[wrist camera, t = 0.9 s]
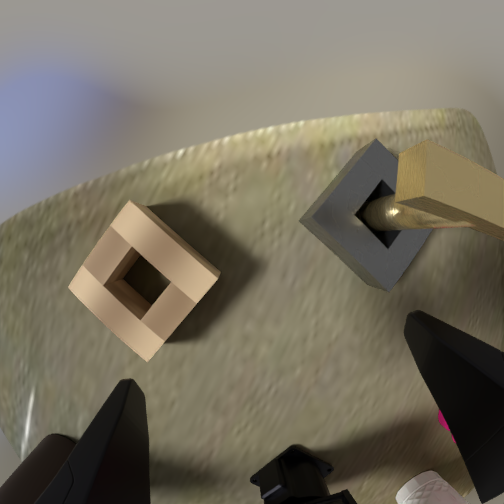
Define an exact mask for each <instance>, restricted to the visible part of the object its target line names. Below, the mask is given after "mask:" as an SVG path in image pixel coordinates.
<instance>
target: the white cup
mask: <svg viewBox="0 0 504 504" xmlns="http://www.w3.org/2000/svg"><path fill="white" fill-rule="evenodd" d="M395 499H396V501H397V503H398V504H469V503H468V502H467V501H466V500H465V499H464V498H463V497H462V496H461V495H460V494H459V493H458V492H457V491H456V490H455V489H454V488H453V487H451V486H450V485H449V483H447V482H446V481H445V480H443V479H442V478H441V477H440V476H439V474H438V473H437V472H435V471H431V470H430V471H426V472H422V473H421V474H419V475H417V476H415V477H413V478H412V479H411V480H409V481H408V482H407V483H406V484H404V485H403V487H402V488H401V489H400V490H399V491H398V493H397V495H396V498H395Z"/></svg>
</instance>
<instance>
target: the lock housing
mask: <svg viewBox="0 0 504 504" xmlns="http://www.w3.org/2000/svg"><path fill="white" fill-rule="evenodd" d="M397 174H398V160H397V159H396V158H395V157H394V156H393V155H392V154H391V153H390V152H389V151H388V150H387V149H386V148H385V147H384V146H383V145H382V144H381V143H380V142H379V141H378V140H377V139H374V140H373V141H371V142H370V143H369V144H367V145H366V146H364V147H363V148H362V149H360V150H359V151H357V152H356V153H355V154H354V156H353V157H352V158H351V159H350V160H349V162H348V163H347V164H346V165H345V166H344V168H343V169H342V170H341V171H340V172H339V174H338V175H337V176H336V177H335V178H334V180H333V181H332V182H331V183H330V184H329V186H328V187H327V188H326V189H325V190H324V192H323V193H322V194H321V195H320V196H319V197H318V199H317V200H316V201H315V202H314V203H313V205H312V206H311V207H310V208H309V209H308V211H307V212H306V213H305V214H304V215H303V216H302V218H301V219H300V220H299V222H300V223H302V224H303V225H304V226H305V227H306V228H307V229H308V230H309V231H310V232H312V233H313V234H314V235H315V236H316V237H317V238H318V239H319V240H320V241H321V242H322V243H324V244H325V245H326V246H327V247H328V248H329V249H330V250H331V251H332V252H333V253H334V254H335V255H337V256H338V257H339V258H340V259H341V260H342V261H343V262H344V263H345V264H346V265H347V266H348V267H349V268H350V269H351V270H352V271H353V272H354V273H356V274H357V275H358V276H359V277H360V278H361V279H362V280H363V281H364V282H365V283H366V284H367V285H370V286H373V287H375V288H378V289H381V290H384V291H387V292H390V290H391V289H392V288H393V286H394V285H395V284H396V282H397V281H398V280H399V278H400V277H401V275H402V274H403V273H404V271H405V270H406V268H407V267H408V266H409V264H410V263H411V261H412V260H413V258H414V257H415V255H416V254H417V252H418V251H419V249H420V248H421V246H422V245H423V243H424V242H425V240H426V239H427V237H428V236H429V234H430V233H431V231H432V229H433V228H430V229H409V230H390V231H378V232H377V234H376V235H374V234H373V233H372V232H371V231H370V230H369V229H368V228H367V227H366V226H365V225H364V224H363V223H362V222H361V221H360V220H359V219H358V218H357V217H356V216H355V213H356V212H357V211H358V210H359V208H360V207H361V206H362V204H363V203H364V202H365V201H366V199H367V198H368V197H369V196H370V197H371V198H372V199H373V200H375V199H378V198H382V197H385V196H389V195H393V194H396V184H397Z"/></svg>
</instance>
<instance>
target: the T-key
mask: <svg viewBox="0 0 504 504" xmlns="http://www.w3.org/2000/svg"><path fill="white" fill-rule="evenodd" d="M355 216H356V217H357V218H358V219H359V220H360V221H361V222H362V223H363V224H364V225H365V226H366V227H367V228H368V229H369V230H370V231H390V230H409V229H430V228H452V227H469V228H472V229H475V230H477V231H480V232H482V233H485V234H488V235H490V236H493V237H495V238H497V239H500V240H502V241H504V179H503V178H501V177H499V176H498V175H496V174H494V173H492V172H491V171H489V170H487V169H485V168H484V167H482V166H480V165H478V164H476V163H475V162H473V161H471V160H469V159H467V158H465V157H463V156H461V155H459V154H457V153H455V152H453V151H451V150H449V149H447V148H445V147H443V146H441V145H438V144H436V143H434V142H432V141H430V140H425V141H423V142H421V143H419V144H417V145H415V146H413V147H411V148H409V149H407V150H405V151H403V152H401V153H399V161H398V174H397V184H396V194H393V195H389V196H385V197H382V198H378V199H375V200H371V201H368V202H364V203H363V204H362V206H361V207H360V208H359V210H358V211H357V212H356V213H355Z"/></svg>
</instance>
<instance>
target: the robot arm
mask: <svg viewBox="0 0 504 504" xmlns="http://www.w3.org/2000/svg"><path fill="white" fill-rule="evenodd" d="M404 336H405V339H406V341H407V343H408V346H409V348H410V350H411V352H412V355H413V357H414V360H415V362H416V364H417V367H418V369H419V371H420V373H421V375H422V377H423V379H424V381H425V383H426V385H427V386H428V388H429V390H430V392H431V394H432V396H433V398H434V400H435V402H436V403H437V405H438V407H439V409H440V411H441V413H442V415H443V417H444V419H445V421H446V423H447V425H448V427H449V429H450V431H451V434H452V436H453V438H454V440H455V442H456V444H457V446H458V448H459V451H460V453H461V455H462V457H463V460H464V462H465V465H466V467H467V469H468V472H469V474H470V476H471V479H472V481H473V484H474V486H475V489H476V491H477V494H478V496H479V499H480V501H481V503H482V504H483V503H485V502H487V501H489V500H491V499H493V498H495V497H497V496H498V495H500V494H502V493H503V492H504V352H501V351H500V350H498V349H497V348H495V347H493V346H491V345H489V344H487V343H485V342H483V341H481V340H479V339H477V338H475V337H473V336H471V335H469V334H467V333H465V332H463V331H461V330H459V329H457V328H455V327H453V326H451V325H449V324H447V323H445V322H443V321H441V320H439V319H437V318H435V317H433V316H431V315H429V314H427V313H425V312H423V311H420V310H416V311H413V312H411V313H409V314H408V315H407V319H406V323H405V328H404ZM292 450H294V451H292ZM333 470H334V468H333V466H332V465H330V464H328V463H326V462H324V461H322V460H320V459H318V458H316V457H314V456H312V455H310V454H308V453H307V452H305V451H303V450H301V449H299V448H297V447H295V446H291V447H289V448H287V449H286V450H285V451H284V452H283V453H281V454H280V455H279V456H278V457H276V458H275V459H273V460H272V461H271V462H270V463H268V464H267V465H266V466H264V467H263V468H262V469H260V470H259V471H258V472H257V473H256V474H254V475H253V476H252V477H251V478H250V482H251V483H252V484H254V485H257V486H259V487H260V492H261V498H262V499H264V504H357V503H356V501H355V500H354V498H353V497H352V495H351V494H350V493H349V491H348V490H347V489H346V490H343V491H341V492H339V493H336V494H332V495H330V493H329V490H328V488H327V485H326V483H325V480H324V478H325V477H326V476H327V475H328V474H330V473H331V472H332V471H333ZM34 504H151V503H150V479H149V434H148V424H147V414H146V402H145V396H144V393H143V391H142V390H141V389H140V387H139V386H138V385H137V383H136V382H135V381H134V380H133V379H122V380H120V381H119V383H118V384H117V386H116V387H115V388H114V390H113V391H112V393H111V394H110V396H109V397H108V399H107V400H106V401H105V403H104V404H103V406H102V407H101V409H100V410H99V412H98V413H97V415H96V416H95V418H94V419H93V421H92V422H91V423H90V425H89V426H88V428H87V429H86V431H85V432H84V434H83V435H82V437H81V438H80V440H79V441H78V443H77V444H76V446H75V447H74V449H73V451H72V452H71V454H70V455H69V457H68V459H67V460H66V461H65V463H64V464H63V466H62V467H61V469H60V470H59V472H58V473H57V475H56V476H55V478H54V479H53V480H52V481H51V483H50V484H49V485H48V487H47V488H46V489H45V491H44V492H43V493H42V494H41V495H40V497H39V498H38V499H37V500H36V502H35V503H34Z"/></svg>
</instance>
